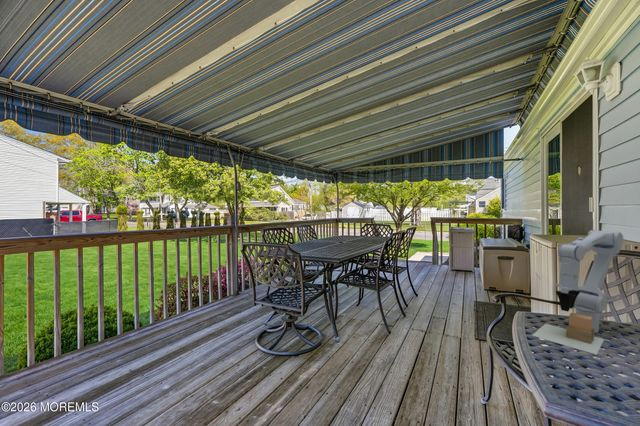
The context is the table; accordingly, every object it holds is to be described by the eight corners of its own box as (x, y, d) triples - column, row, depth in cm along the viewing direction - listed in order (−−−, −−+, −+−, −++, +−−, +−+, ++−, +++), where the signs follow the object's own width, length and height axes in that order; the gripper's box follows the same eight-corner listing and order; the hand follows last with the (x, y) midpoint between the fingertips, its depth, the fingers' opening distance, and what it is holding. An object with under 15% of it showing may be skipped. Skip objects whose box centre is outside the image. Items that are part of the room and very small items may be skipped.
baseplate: (545, 325, 123) (545, 323, 123) (604, 341, 109) (604, 339, 109) (531, 337, 110) (531, 335, 110) (596, 356, 96) (596, 354, 96)
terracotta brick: (571, 323, 113) (571, 312, 113) (592, 329, 108) (592, 317, 108) (568, 326, 110) (569, 314, 110) (590, 331, 106) (590, 319, 105)
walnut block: (569, 332, 114) (570, 322, 114) (593, 339, 109) (594, 328, 109) (565, 337, 110) (566, 326, 110) (590, 344, 104) (591, 333, 104)
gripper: (560, 271, 121) (558, 303, 121) (552, 274, 112) (549, 308, 112) (582, 275, 116) (580, 308, 115) (576, 278, 106) (573, 314, 106)
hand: (567, 309), depth 113 cm, fingers open, 7 cm apart
